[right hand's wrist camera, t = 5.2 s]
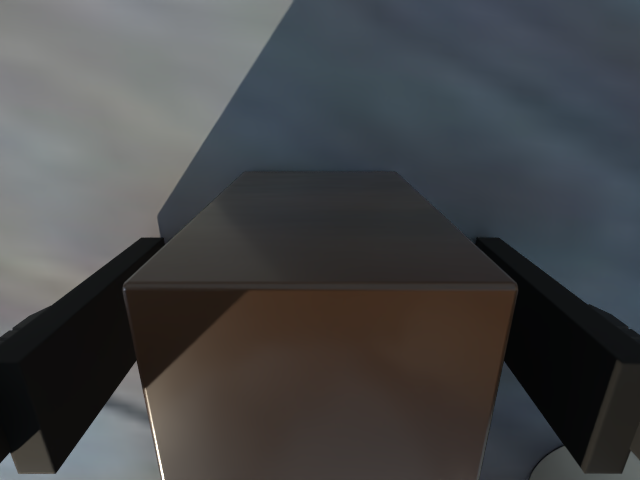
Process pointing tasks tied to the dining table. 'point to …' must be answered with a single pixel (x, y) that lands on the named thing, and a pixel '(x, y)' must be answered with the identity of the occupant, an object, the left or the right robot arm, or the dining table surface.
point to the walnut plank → (320, 335)
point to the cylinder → (565, 474)
